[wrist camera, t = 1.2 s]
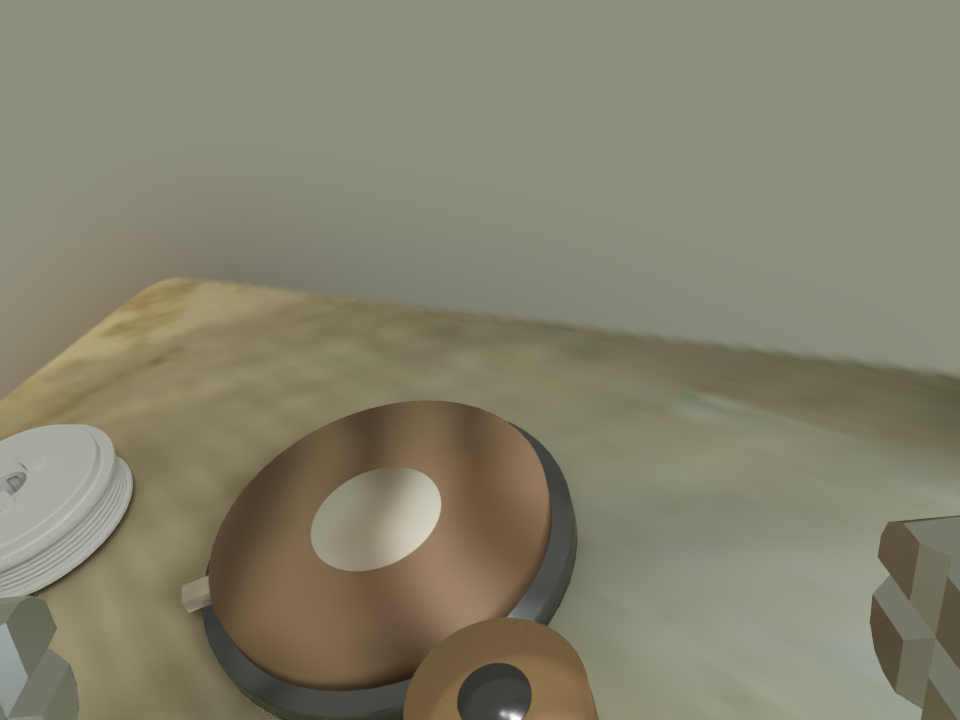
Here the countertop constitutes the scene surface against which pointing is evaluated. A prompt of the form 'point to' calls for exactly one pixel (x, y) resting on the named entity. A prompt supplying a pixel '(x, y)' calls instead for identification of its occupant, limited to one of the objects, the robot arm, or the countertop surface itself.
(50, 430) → the lid
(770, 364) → the countertop surface
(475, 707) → the canister
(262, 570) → the turntable
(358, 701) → the turntable base
